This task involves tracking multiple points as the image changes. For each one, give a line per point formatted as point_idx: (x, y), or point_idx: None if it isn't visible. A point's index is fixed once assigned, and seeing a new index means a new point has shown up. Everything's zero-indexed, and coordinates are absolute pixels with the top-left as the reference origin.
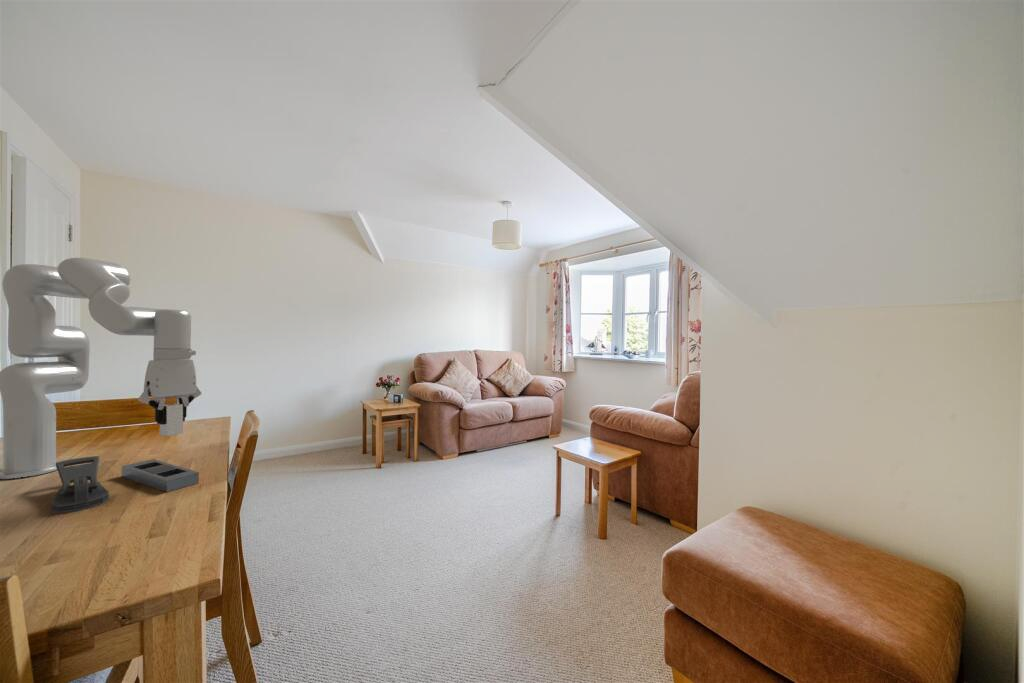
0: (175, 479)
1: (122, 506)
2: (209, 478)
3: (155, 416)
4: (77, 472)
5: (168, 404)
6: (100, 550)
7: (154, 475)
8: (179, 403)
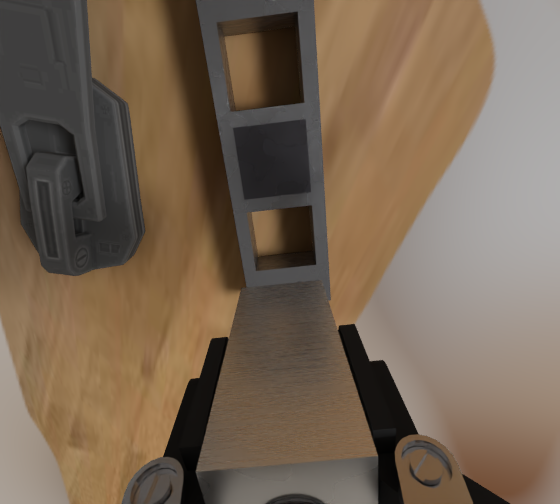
0: None
1: (165, 305)
2: (360, 266)
3: (181, 409)
4: (21, 56)
5: (290, 473)
6: (124, 453)
7: (241, 228)
8: (394, 496)
